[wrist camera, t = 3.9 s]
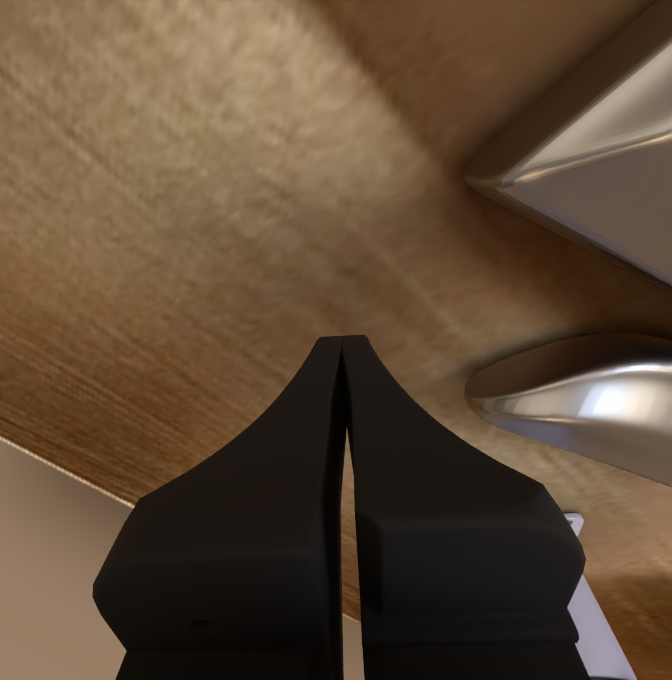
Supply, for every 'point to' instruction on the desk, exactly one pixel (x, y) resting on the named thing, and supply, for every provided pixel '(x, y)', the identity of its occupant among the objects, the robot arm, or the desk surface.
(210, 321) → the desk surface
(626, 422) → the emblem
